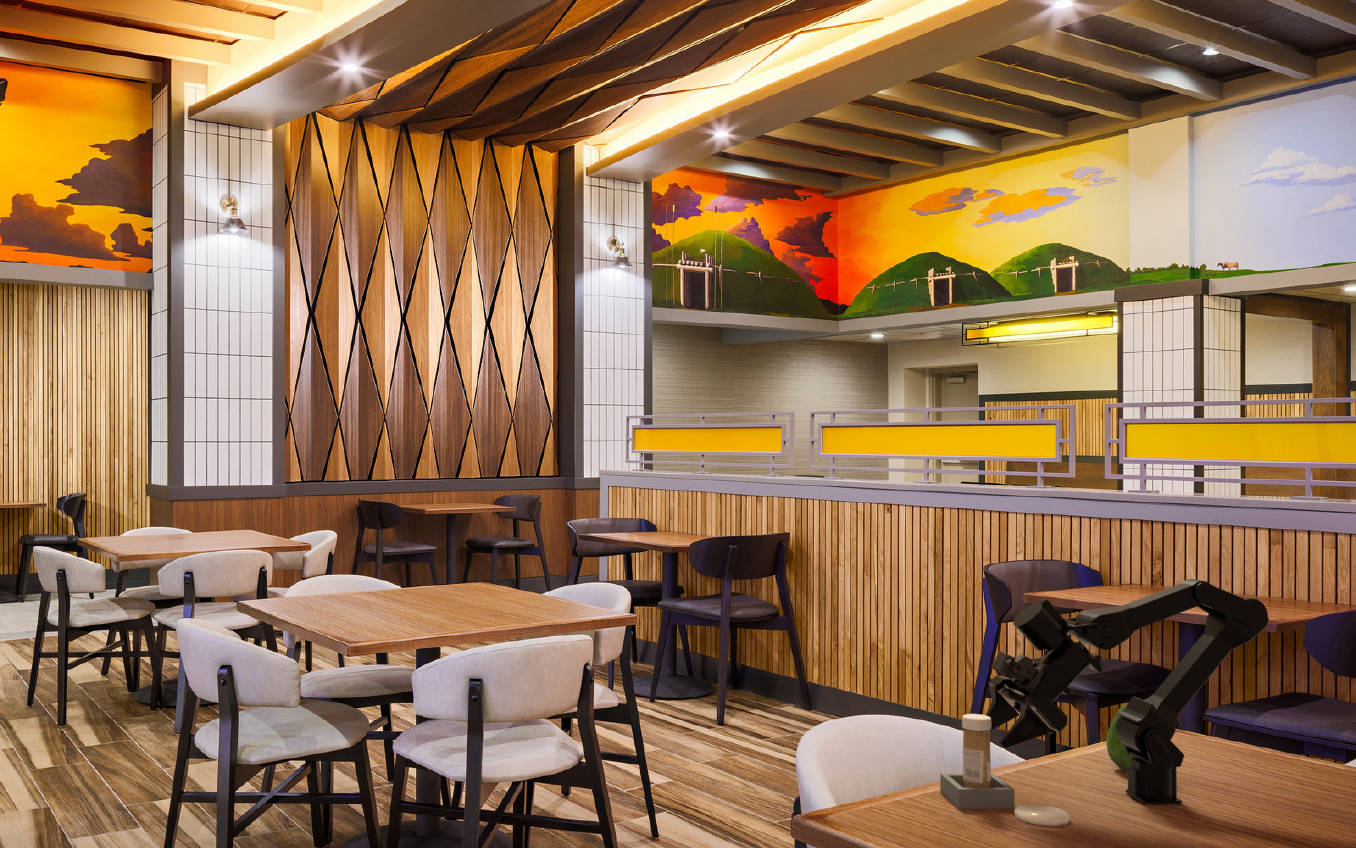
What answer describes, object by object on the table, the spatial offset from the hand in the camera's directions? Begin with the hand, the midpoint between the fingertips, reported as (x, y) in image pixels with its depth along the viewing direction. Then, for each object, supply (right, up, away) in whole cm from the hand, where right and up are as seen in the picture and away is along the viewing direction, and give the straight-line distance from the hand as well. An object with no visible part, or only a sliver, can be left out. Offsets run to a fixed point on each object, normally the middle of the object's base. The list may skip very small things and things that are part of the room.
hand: (991, 739), depth 171 cm
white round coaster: (+5, -9, -9) cm, 14 cm away
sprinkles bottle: (-3, -10, -1) cm, 10 cm away
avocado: (+31, -12, +19) cm, 38 cm away
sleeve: (-3, -10, -1) cm, 10 cm away
